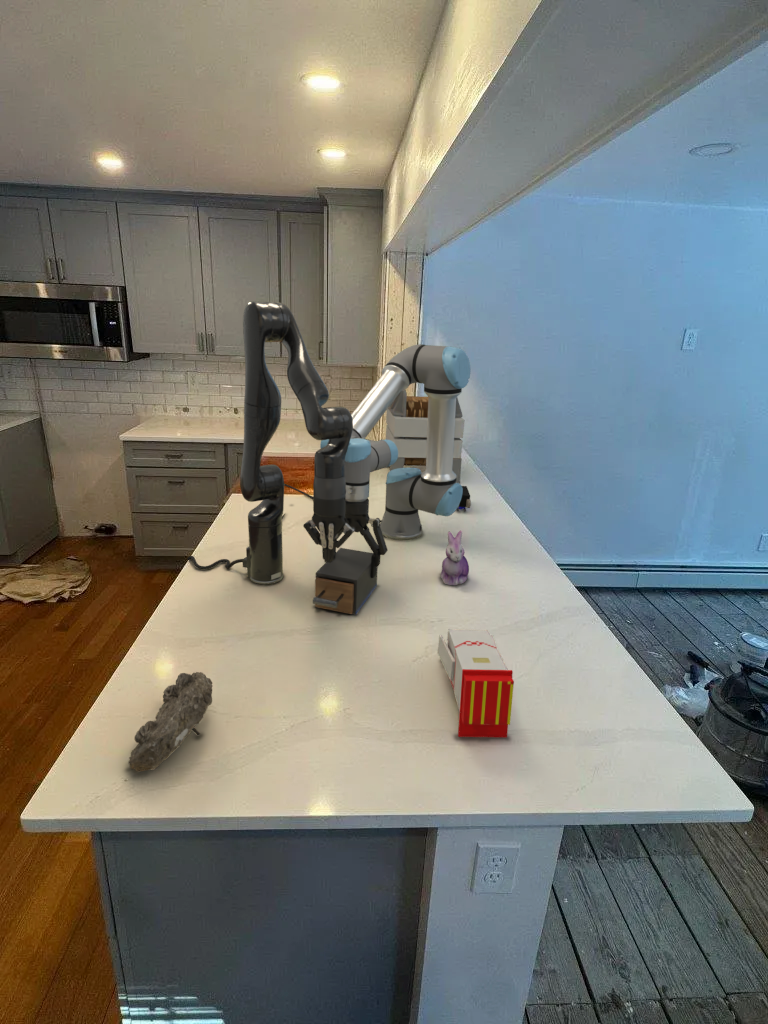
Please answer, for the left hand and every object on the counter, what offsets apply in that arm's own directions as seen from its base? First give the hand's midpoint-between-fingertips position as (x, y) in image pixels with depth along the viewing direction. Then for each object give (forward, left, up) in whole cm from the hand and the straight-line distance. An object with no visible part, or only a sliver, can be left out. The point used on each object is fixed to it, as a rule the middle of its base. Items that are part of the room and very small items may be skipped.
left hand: (329, 561), depth 138 cm
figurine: (+24, +36, -16) cm, 46 cm away
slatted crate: (-20, +142, -16) cm, 144 cm away
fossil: (-7, -47, -16) cm, 51 cm away
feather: (-47, +59, -16) cm, 77 cm away
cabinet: (-1, +14, -16) cm, 21 cm away
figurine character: (+10, +101, -16) cm, 102 cm away
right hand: (-1, +18, -11) cm, 21 cm away
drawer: (-1, +8, -15) cm, 17 cm away
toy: (+39, -14, -16) cm, 45 cm away
